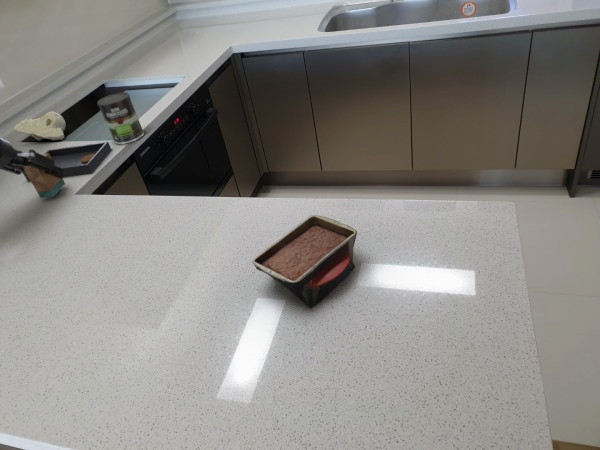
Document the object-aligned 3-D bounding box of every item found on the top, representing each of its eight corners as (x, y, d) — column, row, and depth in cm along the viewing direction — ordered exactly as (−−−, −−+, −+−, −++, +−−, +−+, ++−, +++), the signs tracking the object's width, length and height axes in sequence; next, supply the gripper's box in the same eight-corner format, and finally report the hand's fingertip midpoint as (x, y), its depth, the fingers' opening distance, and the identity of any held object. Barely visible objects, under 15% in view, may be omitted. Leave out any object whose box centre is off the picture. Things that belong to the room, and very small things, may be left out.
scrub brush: (40, 198, 129) (22, 167, 123) (53, 185, 134) (36, 154, 129) (53, 196, 128) (35, 165, 122) (65, 183, 134) (49, 153, 128)
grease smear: (79, 165, 144) (77, 162, 143) (86, 157, 148) (85, 154, 147) (93, 163, 143) (92, 160, 143) (100, 155, 147) (99, 152, 147)
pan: (27, 181, 142) (22, 173, 141) (52, 157, 155) (48, 149, 153) (91, 173, 139) (87, 164, 137) (111, 149, 152) (108, 141, 150)
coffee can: (144, 139, 154) (128, 98, 146) (113, 147, 153) (95, 107, 145) (144, 128, 163) (129, 89, 154) (115, 136, 161) (98, 97, 153)
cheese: (80, 135, 173) (54, 108, 175) (72, 127, 166) (45, 99, 168) (47, 162, 170) (21, 134, 172) (38, 155, 163) (10, 126, 164)
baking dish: (258, 287, 89) (241, 253, 82) (323, 231, 95) (312, 195, 88) (308, 328, 79) (294, 295, 73) (376, 263, 86) (369, 227, 79)
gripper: (-44, 169, 110) (27, 190, 133) (19, 160, 108) (81, 183, 131) (-43, 139, 112) (28, 165, 134) (20, 129, 109) (81, 158, 132)
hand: (54, 174), depth 132 cm, fingers closed on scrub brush, 4 cm apart
